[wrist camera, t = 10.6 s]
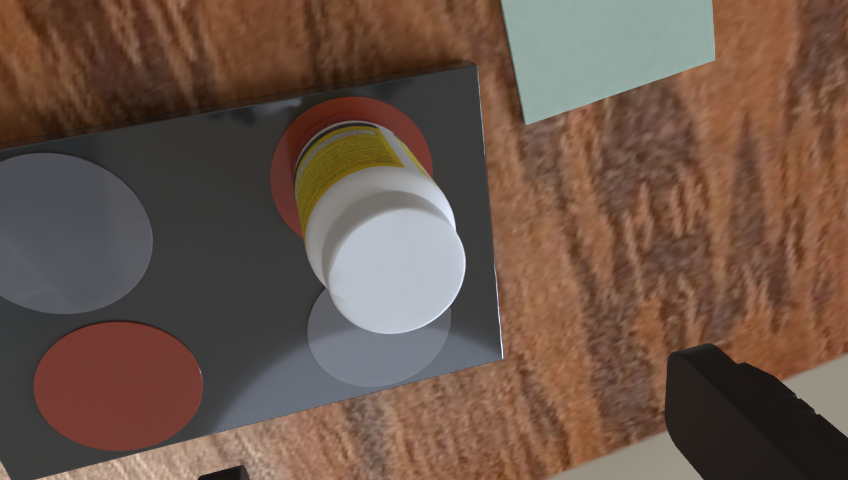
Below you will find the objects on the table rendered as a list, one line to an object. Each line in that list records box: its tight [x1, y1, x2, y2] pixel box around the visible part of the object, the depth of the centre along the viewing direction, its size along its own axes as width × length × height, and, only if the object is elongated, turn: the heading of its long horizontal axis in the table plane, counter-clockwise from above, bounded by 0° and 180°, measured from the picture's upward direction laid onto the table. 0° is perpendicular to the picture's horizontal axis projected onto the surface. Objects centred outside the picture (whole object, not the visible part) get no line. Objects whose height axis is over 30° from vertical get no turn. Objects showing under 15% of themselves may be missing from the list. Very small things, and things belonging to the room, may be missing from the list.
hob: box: [0, 60, 503, 480], centre depth 27 cm, size 14×22×1 cm, turn 97°
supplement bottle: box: [293, 121, 465, 334], centre depth 22 cm, size 5×5×8 cm
